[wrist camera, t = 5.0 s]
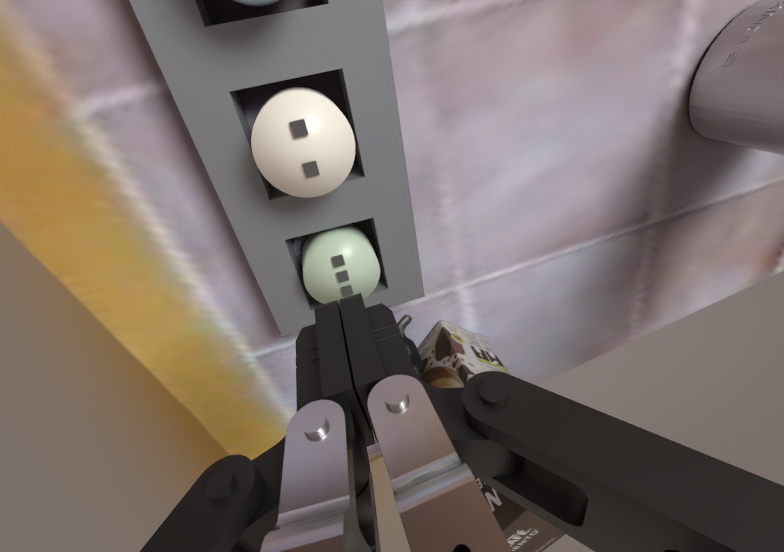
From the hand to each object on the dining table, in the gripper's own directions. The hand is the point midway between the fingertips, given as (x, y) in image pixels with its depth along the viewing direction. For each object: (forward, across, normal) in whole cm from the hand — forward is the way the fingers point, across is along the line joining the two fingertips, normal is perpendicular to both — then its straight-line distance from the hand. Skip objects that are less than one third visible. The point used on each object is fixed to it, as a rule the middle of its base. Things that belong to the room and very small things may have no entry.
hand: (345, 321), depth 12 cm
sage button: (+14, 0, +5) cm, 15 cm away
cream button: (+13, 0, -3) cm, 13 cm away
